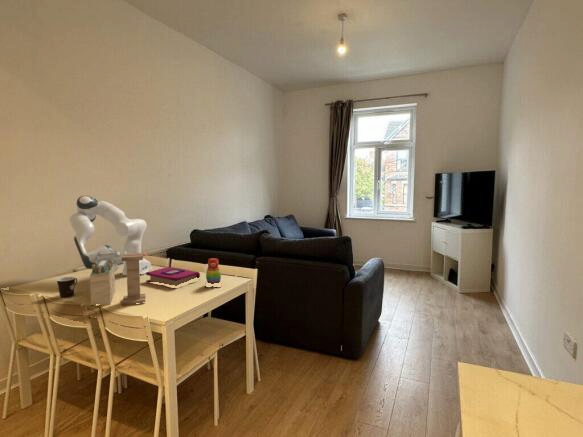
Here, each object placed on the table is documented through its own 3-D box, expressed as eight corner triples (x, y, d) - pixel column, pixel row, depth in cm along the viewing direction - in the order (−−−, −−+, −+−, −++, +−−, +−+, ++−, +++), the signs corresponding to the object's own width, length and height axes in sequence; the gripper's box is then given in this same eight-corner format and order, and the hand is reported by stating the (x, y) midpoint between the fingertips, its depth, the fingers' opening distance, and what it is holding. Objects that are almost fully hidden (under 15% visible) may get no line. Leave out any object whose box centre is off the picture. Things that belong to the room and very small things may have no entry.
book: (170, 275, 238) (170, 265, 238) (200, 281, 225) (200, 270, 225) (145, 283, 220) (144, 271, 219) (176, 289, 207) (175, 277, 206)
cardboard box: (97, 293, 196) (96, 259, 194) (114, 292, 200) (113, 258, 198) (91, 306, 176) (89, 268, 174) (110, 304, 180) (109, 266, 177)
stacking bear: (203, 288, 210) (203, 260, 208) (206, 283, 220) (205, 256, 218) (221, 287, 211) (221, 260, 209) (222, 283, 221) (222, 256, 219)
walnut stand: (123, 299, 187) (122, 253, 185) (145, 297, 191) (144, 252, 189) (122, 306, 177) (120, 257, 175) (144, 303, 181) (143, 256, 179)
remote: (101, 263, 198) (101, 258, 198) (109, 263, 199) (109, 257, 199) (96, 273, 178) (95, 267, 177) (104, 272, 179) (104, 266, 179)
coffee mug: (62, 299, 186) (61, 282, 185) (55, 296, 190) (54, 279, 189) (84, 294, 195) (83, 277, 194) (77, 291, 200) (76, 275, 199)
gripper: (90, 256, 207) (86, 249, 195) (127, 254, 215) (125, 246, 203) (90, 266, 205) (86, 259, 193) (127, 263, 213) (126, 256, 201)
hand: (107, 252), depth 198 cm, fingers open, 8 cm apart
